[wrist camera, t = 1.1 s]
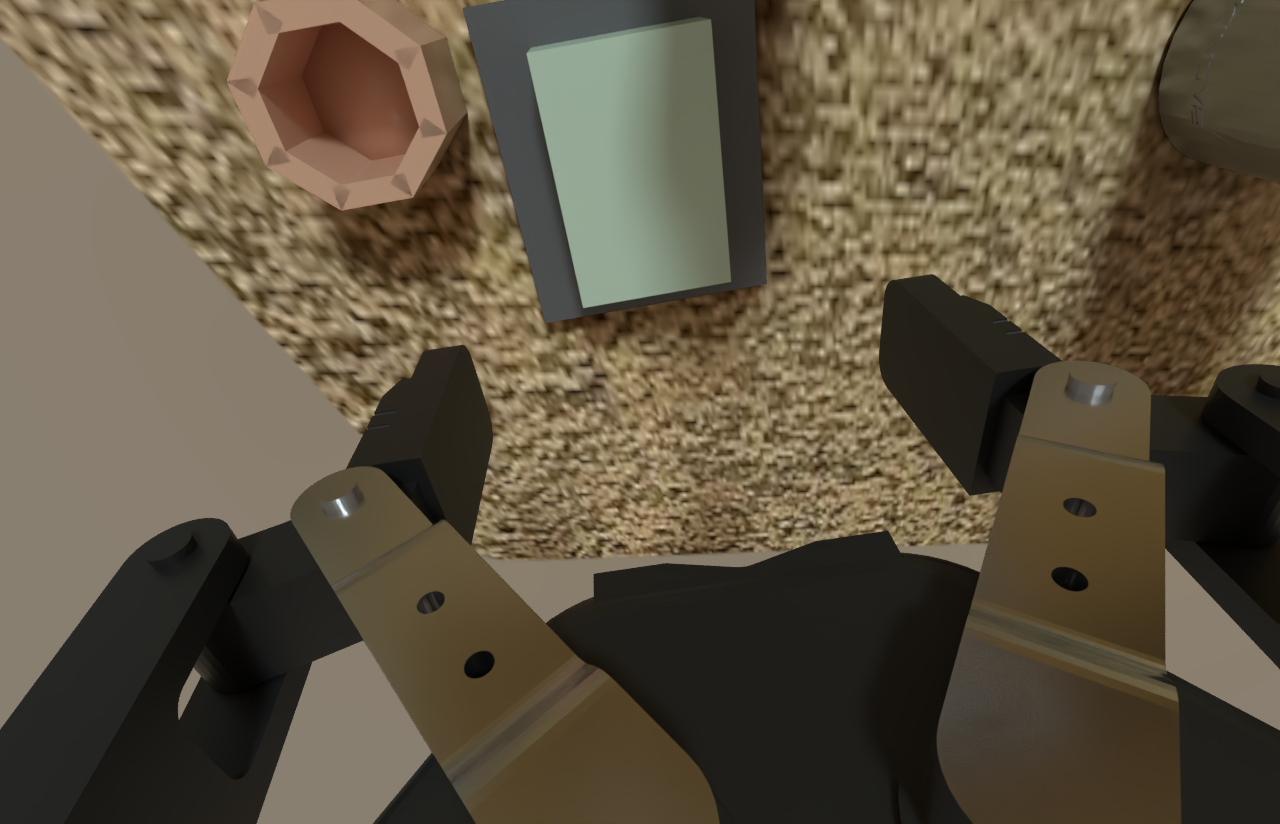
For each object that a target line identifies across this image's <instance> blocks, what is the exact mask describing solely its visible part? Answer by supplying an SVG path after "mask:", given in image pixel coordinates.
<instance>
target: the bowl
mask: <svg viewBox="0 0 1280 824" xmlns="http://www.w3.org/2000/svg"><path fill="white" fill-rule="evenodd" d="M227 83H228V86H229V88H230V90H231V92H232V94H233V96H234V98H235V101H236V103H237V105H238V107H239V109H240V111H241V113H242V116H243V118H244V120H245V122H246V124H247V126H248V128H249V131H250V133H251V135H252V137H253V139H254V141H255V144H256V146H257V148H258V150H259V152H260V154H261V156H262V159H263V161H264V163H265V165H266V167H268V168H270V169H271V170H273V171H275V172H276V173H278V174H280V175H282V176H283V177H285V178H287V179H288V180H290V181H292V182H293V183H295V184H297V185H299V186H300V187H302V188H304V189H305V190H307V191H309V192H310V193H312V194H314V195H316V196H317V197H319V198H321V199H322V200H324V201H326V202H328V203H329V204H331V205H333V206H334V207H336V208H338V209H339V210H341V211H342V210H347V209H353V208H358V207H364V206H369V205H375V204H380V203H386V202H392V201H397V200H403V199H408V198H413V197H414V196H415V195H416V193H417V192H418V191H419V190H420V188H421V187H422V186H423V185H424V183H425V182H426V181H427V180H428V179H429V177H430V176H431V175H432V174H433V172H434V171H435V170H436V169H437V167H438V165H439V164H440V162H441V160H442V158H443V156H444V154H445V152H446V150H447V149H448V147H449V145H450V143H451V141H452V139H453V137H454V136H455V134H456V132H457V130H458V128H459V126H460V124H461V122H462V121H463V119H464V117H465V115H466V113H467V109H466V106H465V102H464V99H463V95H462V92H461V88H460V85H459V81H458V77H457V74H456V70H455V67H454V63H453V60H452V56H451V53H450V49H449V45H448V42H447V38H446V37H445V36H444V35H443V34H441V33H440V32H438V31H437V30H436V29H434V28H433V27H432V26H430V25H429V24H428V23H426V22H425V21H424V20H422V19H421V18H420V17H418V16H417V15H416V14H414V13H413V12H412V11H410V10H409V9H407V8H406V7H405V6H403V5H402V4H401V3H399V2H398V1H397V0H268V1H263V2H257V3H254V6H253V9H252V12H251V14H250V17H249V20H248V23H247V26H246V29H245V31H244V34H243V37H242V40H241V43H240V45H239V48H238V51H237V54H236V57H235V60H234V62H233V65H232V68H231V71H230V74H229V76H228V79H227Z"/></svg>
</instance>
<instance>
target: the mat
mask: <svg viewBox="0 0 1280 824" xmlns="http://www.w3.org/2000/svg"><path fill="white" fill-rule="evenodd" d="M463 11H464V15H465V19H466V23H467V26H468V30H469V34H470V38H471V42H472V45H473V49H474V53H475V57H476V61H477V64H478V68H479V72H480V76H481V80H482V84H483V87H484V91H485V95H486V99H487V103H488V106H489V110H490V114H491V118H492V122H493V125H494V129H495V133H496V137H497V141H498V144H499V148H500V152H501V156H502V160H503V163H504V167H505V171H506V175H507V179H508V182H509V186H510V190H511V194H512V198H513V201H514V205H515V209H516V213H517V217H518V220H519V224H520V228H521V232H522V236H523V239H524V243H525V247H526V251H527V255H528V259H529V262H530V266H531V270H532V274H533V278H534V281H535V285H536V289H537V293H538V297H539V300H540V304H541V308H542V312H543V316H544V319H545V323H550V322H555V321H561V320H567V319H572V318H578V317H584V316H589V315H595V314H600V313H606V312H612V311H617V310H623V309H629V308H634V307H640V306H646V305H651V304H657V303H663V302H668V301H674V300H679V299H685V298H691V297H696V296H702V295H708V294H713V293H719V292H725V291H730V290H736V289H742V288H747V287H753V286H759V285H764V284H767V279H766V256H765V233H764V209H763V186H762V163H761V140H760V116H759V93H758V70H757V47H756V24H755V0H504V1H499V2H493V3H488V4H482V5H477V6H472V7H466V8H463ZM694 17H703V18H708V19H711V25H712V38H713V51H714V64H715V77H716V90H717V103H718V116H719V129H720V142H721V155H722V168H723V181H724V194H725V207H726V221H727V234H728V247H729V260H730V273H731V282H727V283H722V284H716V285H711V286H705V287H699V288H694V289H688V290H682V291H677V292H671V293H665V294H660V295H654V296H649V297H643V298H637V299H632V300H626V301H620V302H615V303H609V304H603V305H598V306H592V307H586V308H583V305H582V301H581V296H580V292H579V287H578V283H577V278H576V274H575V269H574V265H573V260H572V256H571V251H570V247H569V242H568V238H567V233H566V229H565V224H564V220H563V215H562V211H561V206H560V202H559V197H558V193H557V188H556V184H555V179H554V175H553V170H552V166H551V161H550V157H549V152H548V148H547V143H546V139H545V134H544V130H543V125H542V121H541V116H540V112H539V107H538V103H537V98H536V94H535V89H534V85H533V80H532V76H531V72H530V67H529V63H528V58H527V54H526V53H527V52H528V51H529V50H530V48H532V47H537V46H543V45H548V44H553V43H559V42H564V41H570V40H575V39H581V38H586V37H591V36H597V35H602V34H608V33H613V32H618V31H624V30H629V29H635V28H640V27H646V26H651V25H656V24H662V23H667V22H673V21H678V20H683V19H689V18H694Z"/></svg>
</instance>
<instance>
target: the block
mask: <svg viewBox="0 0 1280 824" xmlns="http://www.w3.org/2000/svg"><path fill="white" fill-rule="evenodd" d="M526 54H527V58H528V63H529V67H530V72H531V76H532V80H533V85H534V89H535V94H536V98H537V103H538V107H539V112H540V116H541V121H542V125H543V130H544V134H545V139H546V143H547V148H548V152H549V157H550V161H551V166H552V170H553V175H554V179H555V184H556V188H557V193H558V197H559V202H560V206H561V211H562V215H563V220H564V224H565V229H566V233H567V238H568V242H569V247H570V251H571V256H572V260H573V265H574V269H575V274H576V278H577V283H578V287H579V292H580V296H581V301H582V305H583V308H586V307H592V306H598V305H603V304H609V303H615V302H620V301H626V300H632V299H637V298H643V297H649V296H654V295H660V294H665V293H671V292H677V291H682V290H688V289H694V288H699V287H705V286H711V285H716V284H722V283H727V282H731V273H730V260H729V247H728V234H727V221H726V207H725V194H724V181H723V168H722V155H721V142H720V129H719V116H718V103H717V90H716V77H715V64H714V51H713V38H712V25H711V19H708V18H703V17H694V18H689V19H683V20H678V21H673V22H667V23H662V24H656V25H651V26H646V27H640V28H635V29H629V30H624V31H618V32H613V33H608V34H602V35H597V36H591V37H586V38H581V39H575V40H570V41H564V42H559V43H553V44H548V45H543V46H537V47H532V48H530V50H529V51H528V52H527V53H526Z"/></svg>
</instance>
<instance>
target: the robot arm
mask: <svg viewBox="0 0 1280 824" xmlns="http://www.w3.org/2000/svg"><path fill="white" fill-rule="evenodd" d="M1159 114H1160V117H1161V121H1162V125H1163V128H1164V132H1165V134H1166V135H1167V137H1168V138H1169V140H1170V141H1171V143H1172V144H1173V146H1174V147H1175V148H1176V149H1177V150H1179V151H1180V152H1181V153H1183V154H1184V155H1185V156H1187V157H1188V158H1190V159H1193V160H1196V161H1200V162H1203V163H1206V164H1209V165H1213V166H1217V167H1220V168H1224V169H1228V170H1231V171H1235V172H1238V173H1242V174H1246V175H1249V176H1253V177H1257V178H1260V179H1264V180H1268V181H1271V182H1275V183H1277V184H1280V0H1194V1H1193V2H1192V3H1191V5H1190V6H1189V8H1188V10H1187V12H1186V14H1185V16H1184V18H1183V19H1182V21H1181V23H1180V25H1179V27H1178V29H1177V31H1176V33H1175V34H1174V37H1173V39H1172V42H1171V45H1170V48H1169V50H1168V53H1167V56H1166V59H1165V61H1164V65H1163V70H1162V75H1161V81H1160V86H1159ZM879 365H880V371H881V375H882V378H883V381H884V383H885V385H886V386H887V388H888V389H889V391H890V392H891V393H892V394H893V396H894V397H895V398H896V400H897V401H898V402H899V404H900V405H901V406H902V408H903V409H904V410H905V412H906V413H907V414H908V415H909V417H910V418H911V419H912V421H913V422H914V423H915V425H916V426H917V427H918V429H919V430H920V431H921V433H922V434H923V435H924V436H925V438H926V439H927V440H928V442H929V443H930V444H931V446H932V447H933V448H934V450H935V451H936V452H937V453H938V455H939V456H940V457H941V459H942V460H943V461H944V463H945V464H946V465H947V467H948V468H949V469H950V471H951V472H952V473H953V474H954V476H955V477H956V478H957V480H958V481H959V482H960V484H961V485H962V486H963V488H964V489H965V490H966V491H967V493H968V494H969V495H977V494H984V493H991V492H998V491H1000V492H1001V493H1002V495H1001V498H1000V502H999V506H998V509H997V513H996V517H995V520H994V524H993V528H992V531H991V535H990V539H989V542H988V546H987V550H986V553H985V557H984V561H983V564H982V568H981V572H978V571H975V570H973V569H970V568H968V567H965V566H962V565H959V564H956V563H953V562H950V561H947V560H943V559H939V558H934V557H930V556H924V555H918V554H910V553H900V551H899V549H898V548H897V546H896V544H895V542H894V541H893V539H892V537H891V535H890V533H889V532H888V531H883V532H876V533H869V534H863V535H856V536H849V537H842V538H835V539H828V540H822V541H815V542H812V543H810V544H807V545H804V546H802V547H799V548H796V549H794V550H791V551H788V552H785V553H783V554H780V555H778V556H775V557H772V558H769V559H767V560H764V561H761V562H759V563H756V564H753V565H750V566H747V567H722V566H721V567H720V566H704V565H686V564H668V563H665V564H658V565H651V566H644V567H638V568H631V569H625V570H617V571H610V572H603V573H597V574H594V597H592V598H590V599H587V600H585V601H582V602H580V603H578V604H576V605H574V606H572V607H570V608H568V609H567V610H565V611H563V612H562V613H560V614H559V615H557V616H555V617H554V618H552V619H551V620H549V621H548V622H547V623H545V622H544V621H543V620H542V619H541V618H540V617H539V616H538V615H537V614H536V613H535V612H534V611H533V610H532V609H531V608H530V607H529V606H528V605H527V604H526V603H525V602H524V600H522V598H520V596H519V595H518V594H517V593H516V592H515V591H514V590H513V589H512V588H511V587H510V586H509V585H508V584H507V583H506V582H505V581H504V580H503V579H502V578H501V577H500V576H499V575H498V574H497V573H496V572H495V570H493V568H492V567H491V566H490V565H489V564H488V563H487V562H486V561H485V560H484V559H483V558H482V557H481V556H480V555H479V554H478V553H477V552H476V551H475V550H474V549H473V548H472V547H471V544H472V539H473V534H474V529H475V524H476V520H477V515H478V510H479V505H480V501H481V496H482V491H483V486H484V481H485V477H486V472H487V467H488V462H489V458H490V453H491V448H492V442H493V432H492V423H491V418H490V414H489V411H488V408H487V404H486V401H485V398H484V395H483V392H482V389H481V386H480V383H479V380H478V377H477V373H476V370H475V367H474V364H473V361H472V358H471V355H470V353H469V351H468V349H467V348H466V346H465V345H459V346H452V347H446V348H439V349H433V350H426V351H424V352H423V353H422V355H421V358H420V360H419V362H418V364H417V366H416V369H415V371H414V373H413V375H412V377H411V378H410V379H403V380H400V381H399V382H398V383H397V384H396V385H395V386H394V387H392V388H391V389H390V390H389V391H388V392H387V393H386V394H385V395H383V397H382V399H381V401H380V403H379V405H378V407H377V409H376V410H375V412H374V414H375V416H372V418H371V420H370V422H369V424H368V426H367V427H368V430H365V432H364V434H363V436H362V438H361V440H360V442H359V444H358V446H357V448H356V450H355V452H354V454H353V456H352V458H351V460H350V462H349V464H348V466H347V468H346V469H345V470H341V471H338V472H336V473H333V474H331V475H329V476H327V477H324V478H323V479H321V480H319V481H317V482H316V483H314V484H313V485H311V486H310V487H309V488H308V489H307V490H305V491H304V492H303V493H302V494H301V495H300V496H299V498H298V499H297V500H296V501H295V503H294V505H293V507H292V509H291V513H290V516H291V517H290V518H291V520H290V521H288V522H285V523H283V524H280V525H277V526H274V527H271V528H268V529H266V530H263V531H260V532H257V533H255V534H252V535H249V536H246V537H243V538H241V539H237V537H236V536H235V534H234V533H233V531H232V530H231V529H230V527H229V526H228V524H227V523H226V522H224V521H222V520H220V519H215V518H203V519H196V520H192V521H188V522H185V523H182V524H179V525H177V526H175V527H172V528H170V529H168V530H166V531H164V532H162V533H160V534H158V535H157V536H155V537H153V538H152V539H150V540H149V541H147V542H146V543H144V544H143V545H142V546H141V547H139V548H138V549H137V550H136V551H135V552H134V553H133V554H132V555H131V556H130V557H129V558H128V559H127V560H126V561H125V562H124V563H123V565H122V566H121V568H120V569H119V570H118V572H117V573H116V574H115V576H114V577H113V578H112V580H111V581H110V582H109V584H108V585H107V586H106V588H105V589H104V590H103V592H102V593H101V594H100V596H99V597H98V599H97V600H96V601H95V603H94V604H93V605H92V607H91V608H90V609H89V611H88V612H87V613H86V615H85V616H84V617H83V619H82V620H81V622H80V623H79V624H78V626H77V627H76V628H75V630H74V631H73V632H72V634H71V635H70V637H69V638H68V639H67V640H66V642H65V643H64V644H63V646H62V648H60V650H59V651H58V653H57V654H56V655H55V657H54V658H53V660H52V661H51V662H50V663H49V665H48V666H47V668H46V669H45V670H44V671H43V673H42V674H41V675H40V677H39V678H38V679H37V681H36V682H35V683H34V685H33V686H32V688H31V689H30V690H29V692H28V693H27V694H26V696H25V697H24V698H23V700H22V701H21V702H20V704H19V705H18V706H17V708H16V709H15V710H14V712H13V713H12V714H11V716H10V717H9V719H8V720H7V721H6V723H5V724H4V725H3V727H2V728H1V730H0V824H256V823H257V820H258V817H259V814H260V812H261V809H262V806H263V803H264V800H265V797H266V794H267V791H268V788H269V785H270V783H271V780H272V777H273V774H274V771H275V768H276V765H277V762H278V760H279V756H280V754H281V751H282V748H283V745H284V742H285V739H286V736H287V734H288V731H289V727H290V725H291V722H292V719H293V716H294V713H295V710H296V707H297V705H298V701H299V699H300V696H301V693H302V690H303V687H304V684H305V681H306V678H307V676H308V673H309V670H310V667H311V664H312V661H315V660H317V659H320V658H322V657H324V656H327V655H329V654H332V653H334V652H336V651H339V650H341V649H344V648H346V647H348V646H351V645H353V644H356V643H358V642H360V641H363V640H364V642H365V643H366V645H367V647H368V649H369V650H370V652H371V653H372V655H373V657H374V658H375V660H376V662H377V663H378V665H379V667H380V668H381V670H382V672H383V673H384V675H385V676H386V678H387V680H388V681H389V683H390V685H391V686H392V688H393V690H394V691H395V693H396V694H397V696H398V698H399V699H400V701H401V703H402V704H403V706H404V707H405V709H406V711H407V712H408V714H409V716H410V718H411V719H412V721H413V722H414V724H415V725H416V727H417V729H418V731H419V732H420V734H421V736H422V737H423V739H424V741H425V742H426V744H427V745H428V747H429V749H430V750H431V752H432V753H431V754H430V756H429V757H428V758H427V759H426V760H425V761H424V763H423V764H422V765H421V766H420V768H419V769H418V770H417V771H416V772H415V774H414V775H413V776H412V777H411V778H410V780H409V781H408V782H407V783H406V785H405V786H404V787H403V788H402V789H401V790H400V792H399V793H398V794H397V795H396V796H395V798H394V799H393V800H392V801H391V802H390V804H389V805H388V806H387V807H386V808H385V810H384V811H383V812H382V813H381V814H380V816H379V817H378V818H377V819H376V820H375V822H374V823H373V824H1280V730H1278V729H1276V728H1274V727H1272V726H1270V725H1268V724H1266V723H1264V722H1263V721H1261V720H1259V719H1257V718H1255V717H1253V716H1251V715H1249V714H1248V713H1246V712H1244V711H1242V710H1240V709H1238V708H1236V707H1234V706H1232V705H1231V704H1229V703H1227V702H1225V701H1223V700H1221V699H1219V698H1217V697H1215V696H1214V695H1211V694H1210V693H1208V692H1206V691H1204V690H1202V689H1200V688H1198V687H1197V686H1194V685H1193V684H1191V683H1189V682H1187V681H1185V680H1183V679H1181V678H1180V677H1178V676H1176V675H1174V674H1172V673H1170V672H1168V671H1166V665H1165V548H1166V549H1167V551H1168V552H1169V553H1170V554H1171V555H1172V556H1173V557H1174V558H1175V559H1176V560H1177V561H1178V562H1179V563H1180V564H1181V565H1182V566H1183V567H1184V569H1185V570H1186V571H1187V572H1188V573H1189V574H1190V575H1191V576H1192V577H1193V578H1194V579H1195V580H1196V581H1197V582H1198V583H1199V584H1200V585H1201V586H1202V587H1203V589H1204V590H1205V591H1206V592H1207V593H1208V594H1209V595H1210V596H1211V597H1212V598H1213V599H1214V600H1215V601H1216V602H1217V603H1218V604H1219V605H1220V606H1221V608H1222V609H1223V610H1224V611H1225V612H1226V613H1227V614H1228V615H1229V616H1230V617H1231V618H1232V619H1233V620H1234V621H1235V622H1236V623H1237V624H1238V625H1239V627H1240V628H1241V629H1242V630H1243V631H1244V632H1245V633H1246V634H1247V635H1248V636H1249V637H1250V638H1251V639H1252V640H1253V641H1254V642H1255V643H1256V644H1257V646H1258V647H1259V648H1260V649H1261V650H1262V651H1263V652H1264V653H1265V654H1266V655H1267V656H1268V657H1269V658H1270V659H1271V660H1272V661H1273V662H1274V663H1275V665H1277V667H1278V668H1279V669H1280V366H1275V365H1263V364H1250V365H1239V366H1233V367H1230V368H1227V369H1225V370H1223V371H1221V372H1220V373H1219V374H1218V376H1217V378H1216V380H1215V382H1214V385H1213V387H1212V389H1211V391H1210V394H1209V396H1208V397H1186V396H1157V395H1151V392H1150V389H1149V387H1148V386H1147V385H1146V383H1145V382H1144V381H1142V380H1141V379H1140V378H1138V377H1137V376H1135V375H1134V374H1132V373H1130V372H1128V371H1125V370H1123V369H1120V368H1117V367H1114V366H1111V365H1107V364H1103V363H1097V362H1091V361H1076V360H1074V361H1062V360H1060V359H1059V358H1058V357H1056V356H1055V355H1054V354H1053V353H1051V352H1050V351H1049V350H1047V349H1046V348H1045V347H1044V346H1042V345H1041V344H1040V343H1038V342H1037V341H1036V340H1034V339H1033V338H1032V337H1031V336H1029V335H1028V334H1027V333H1025V332H1023V333H1022V332H1021V329H1020V328H1019V327H1018V326H1016V325H1015V324H1014V323H1012V322H1011V321H1007V318H1006V317H1005V316H1003V315H1002V314H1001V313H1000V312H998V311H997V310H996V309H994V308H993V307H992V306H990V305H988V304H986V303H983V302H980V301H978V300H975V299H972V298H970V297H967V296H964V295H963V296H960V295H959V294H957V293H956V292H955V291H954V290H952V289H951V288H950V287H949V286H948V285H946V284H945V283H944V282H943V281H941V280H940V279H939V278H938V277H936V276H935V275H932V274H931V275H924V276H917V277H911V278H904V279H898V280H892V281H890V282H889V283H888V285H887V287H886V290H885V296H884V306H883V317H882V328H881V339H880V350H879ZM193 667H194V668H195V670H196V671H197V672H198V673H199V674H200V675H201V678H200V680H199V682H198V684H197V686H196V688H195V690H194V692H193V694H192V696H191V698H190V700H189V702H188V704H187V706H186V708H185V710H184V712H183V714H182V716H181V718H180V720H179V719H178V702H179V697H180V693H181V691H182V688H183V686H184V684H185V682H186V680H187V679H188V677H189V675H190V673H191V671H192V669H193Z"/></svg>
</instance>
